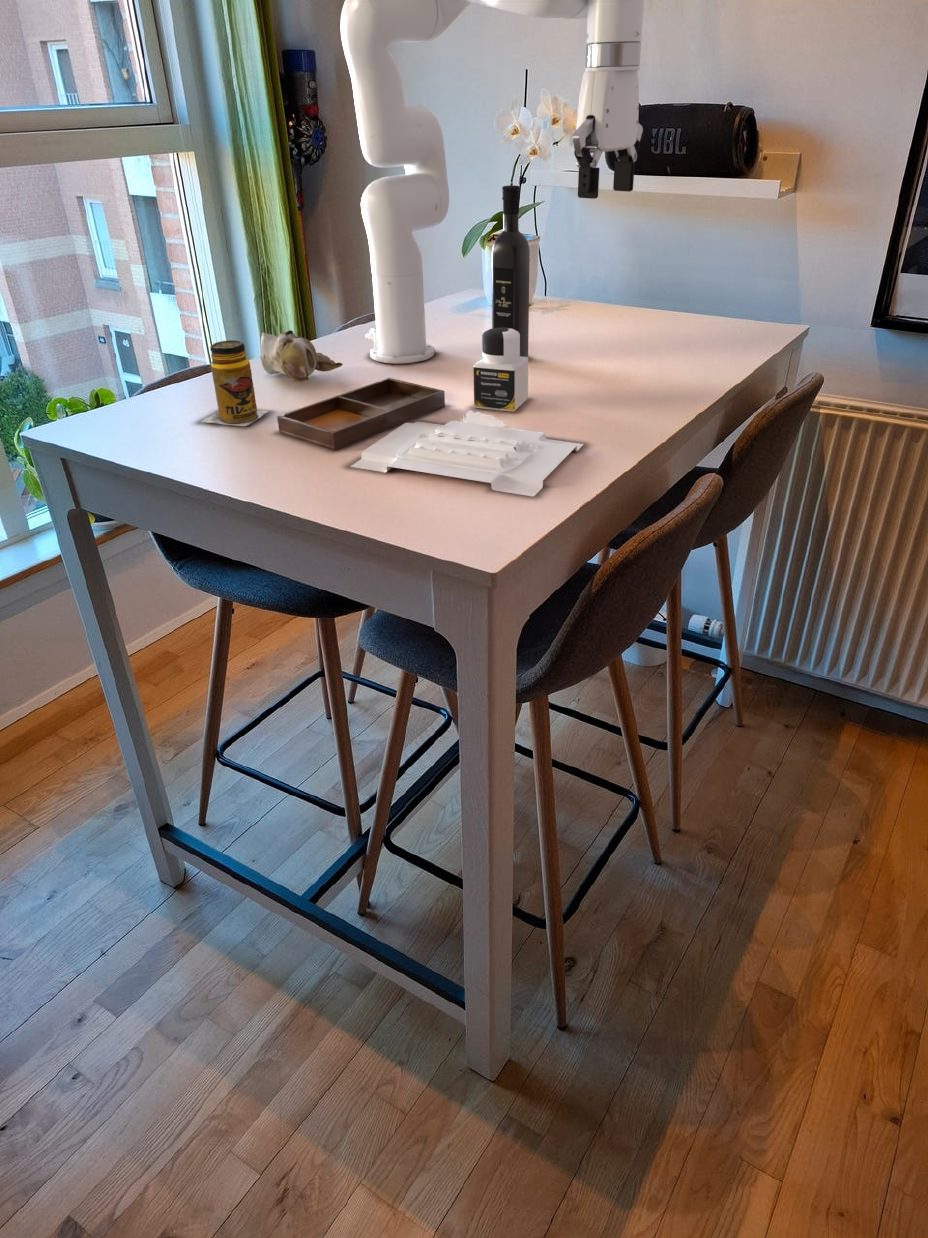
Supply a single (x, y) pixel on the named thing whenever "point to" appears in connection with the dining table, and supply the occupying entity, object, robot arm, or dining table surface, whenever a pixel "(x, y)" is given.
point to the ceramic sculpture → (292, 356)
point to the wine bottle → (511, 272)
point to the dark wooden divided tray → (360, 413)
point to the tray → (471, 452)
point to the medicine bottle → (500, 372)
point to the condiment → (233, 385)
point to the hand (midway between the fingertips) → (605, 194)
